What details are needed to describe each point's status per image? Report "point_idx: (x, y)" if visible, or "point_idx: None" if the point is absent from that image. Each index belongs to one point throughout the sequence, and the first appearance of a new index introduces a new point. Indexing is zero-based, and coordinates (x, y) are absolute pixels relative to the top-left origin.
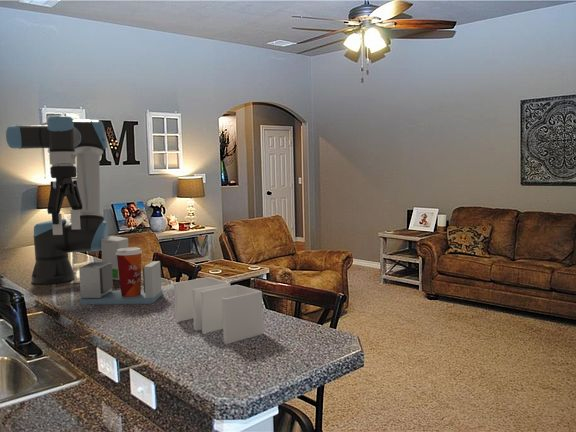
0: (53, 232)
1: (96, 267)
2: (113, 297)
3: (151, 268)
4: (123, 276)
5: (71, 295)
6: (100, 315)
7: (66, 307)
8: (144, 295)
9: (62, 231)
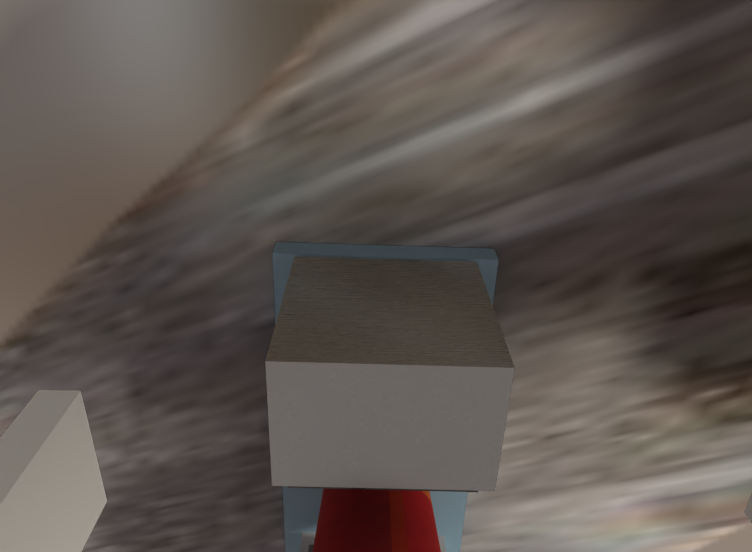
0: (20, 426)
1: (272, 470)
2: None
3: None
4: (315, 538)
5: (525, 93)
6: (84, 405)
7: (217, 191)
8: None
9: (83, 540)
